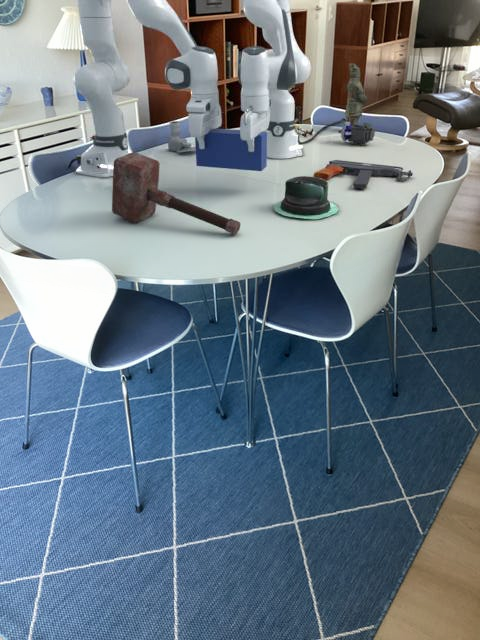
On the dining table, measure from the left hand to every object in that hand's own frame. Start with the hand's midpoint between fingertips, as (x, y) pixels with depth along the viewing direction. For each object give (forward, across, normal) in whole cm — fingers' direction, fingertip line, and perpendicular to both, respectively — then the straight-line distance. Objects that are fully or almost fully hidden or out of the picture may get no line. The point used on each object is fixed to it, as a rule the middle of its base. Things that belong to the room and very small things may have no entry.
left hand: (207, 145), depth 187 cm
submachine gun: (+15, -24, +49) cm, 57 cm away
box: (+6, 0, +8) cm, 11 cm away
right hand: (0, 0, +17) cm, 17 cm away
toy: (+15, -78, +39) cm, 88 cm away
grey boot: (+15, -46, -31) cm, 57 cm away
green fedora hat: (+15, +12, +37) cm, 42 cm away
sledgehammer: (+15, +36, +4) cm, 39 cm away
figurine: (+15, -92, +4) cm, 93 cm away
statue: (+15, -104, +34) cm, 111 cm away
